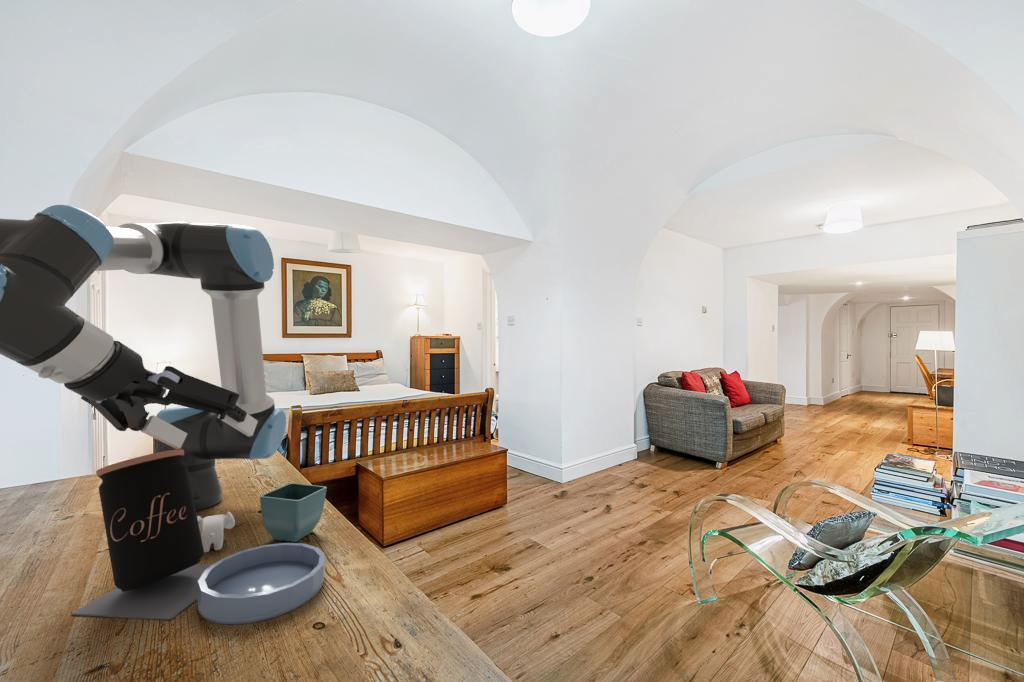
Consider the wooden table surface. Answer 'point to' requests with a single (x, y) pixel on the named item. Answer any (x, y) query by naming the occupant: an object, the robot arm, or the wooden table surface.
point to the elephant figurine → (214, 529)
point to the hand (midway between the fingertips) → (217, 435)
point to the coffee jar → (149, 518)
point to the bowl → (260, 583)
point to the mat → (149, 598)
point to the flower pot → (292, 510)
